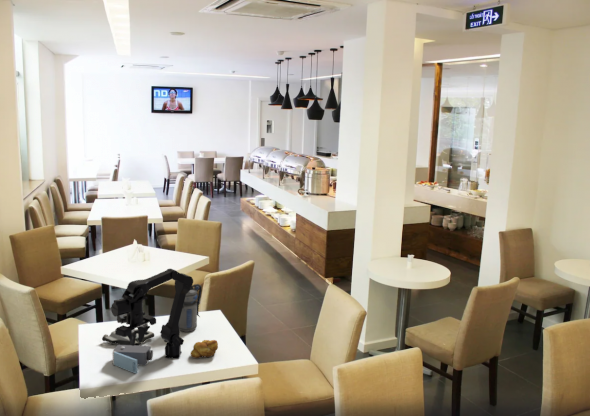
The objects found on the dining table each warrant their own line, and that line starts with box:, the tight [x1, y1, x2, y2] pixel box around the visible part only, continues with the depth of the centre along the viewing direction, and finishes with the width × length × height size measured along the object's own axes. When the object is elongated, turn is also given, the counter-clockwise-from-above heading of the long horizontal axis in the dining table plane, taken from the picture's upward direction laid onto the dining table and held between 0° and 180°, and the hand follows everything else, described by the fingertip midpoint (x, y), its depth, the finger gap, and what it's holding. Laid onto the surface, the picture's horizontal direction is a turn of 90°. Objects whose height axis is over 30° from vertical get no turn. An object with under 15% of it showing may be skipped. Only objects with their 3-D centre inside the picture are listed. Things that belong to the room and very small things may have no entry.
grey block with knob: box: [112, 344, 154, 366], centre depth 229 cm, size 17×7×7 cm, turn 91°
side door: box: [112, 351, 138, 374], centre depth 222 cm, size 15×2×6 cm, turn 61°
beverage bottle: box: [179, 283, 203, 333], centre depth 266 cm, size 10×13×25 cm
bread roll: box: [190, 339, 219, 359], centre depth 238 cm, size 13×10×8 cm
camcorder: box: [101, 328, 155, 346], centre depth 249 cm, size 16×20×5 cm
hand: (136, 343), depth 221 cm, fingers open, 4 cm apart
